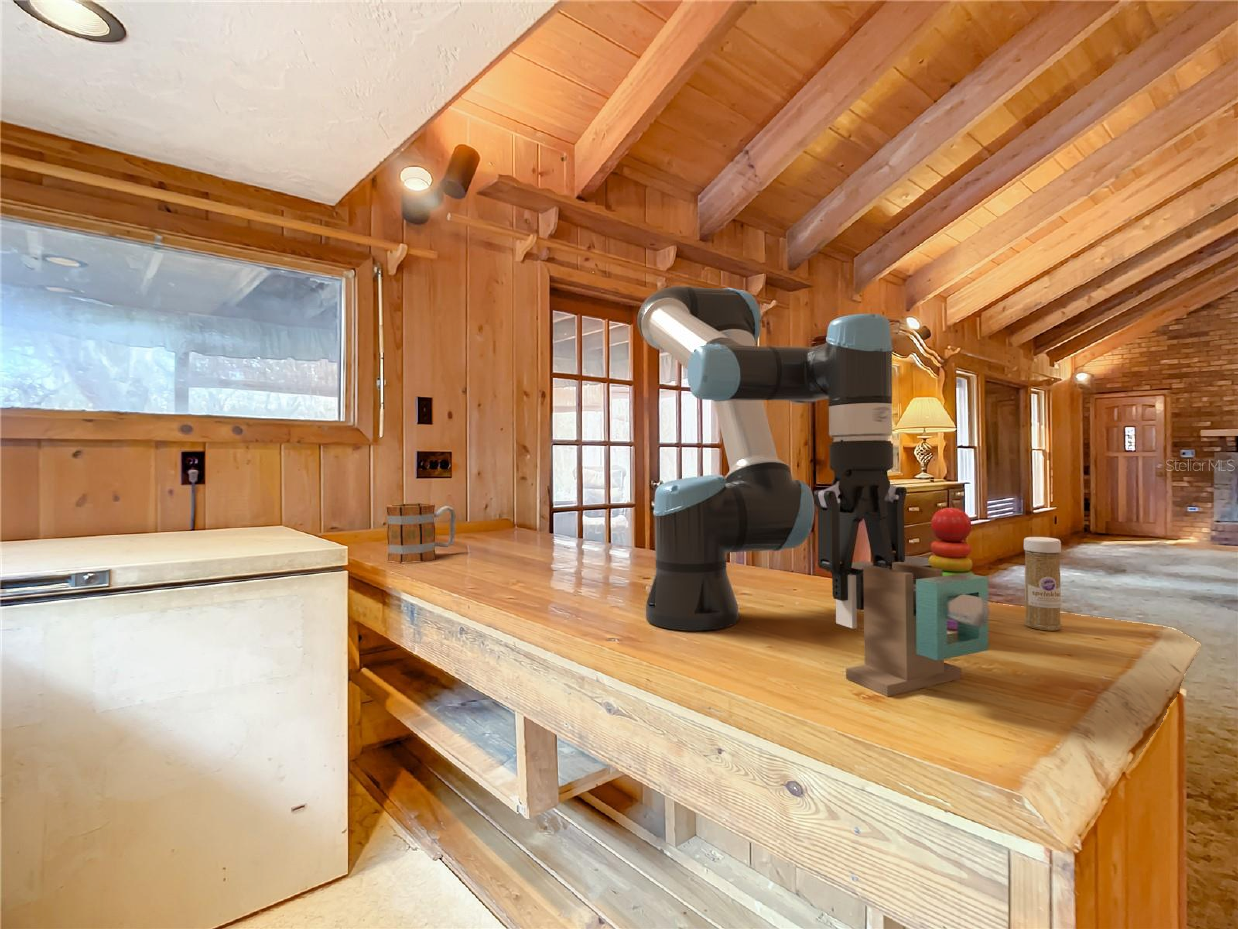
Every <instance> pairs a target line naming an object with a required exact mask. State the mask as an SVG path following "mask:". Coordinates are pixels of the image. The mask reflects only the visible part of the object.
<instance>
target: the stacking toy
mask: <svg viewBox="0 0 1238 929" xmlns="http://www.w3.org/2000/svg"><path fill="white" fill-rule="evenodd" d="M931 518H932V519H931V522H930V526H931V528H930V529H931V530H932V533H933V534H934V536H935V537H936V538H938V539H936V540H933V541H932V542H931V544H930V551H931V552H932V553H933V554H932V555H931V556H929V564H930V566H931V567H932V568H936V569H942V572H943V576H948V575H957V574H965V573H968V574H973V575H975V574H974V572H973V571H971V570H972V569H973V561H972V559H970V558H969V557H968V556H969V555H970V554H971V553H972V548H971V545H970V544H969V543H968V542H966V541H964V540H965V539H967V538H968V537H969V536H970V533H971V531H972V521H971V518H970V516H969V515H968V514H967V513H966V512H965V511H964V510H961V509H960V508H956V507H945V508H941V509H939V510H938V511H936V512H935V513H934V514H933V516H932V517H931ZM957 632H958V622H957V621H953V620H949V619H947V634H952V633H957Z"/></svg>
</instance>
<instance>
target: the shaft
mask: <svg viewBox="0 0 1238 929" xmlns="http://www.w3.org/2000/svg"><path fill="white" fill-rule="evenodd" d="M869 565H871V566H876V567H882V568H887V569H890V566H888V565H883V564H878V563H873V562H871V561H866V560H864V561H863V560H862V561H855V562H853V561H852V567H851V572H850V574H853V575H856V603H857V611H864V584H863V566H869ZM913 610H915V611H916V584H914V583H913ZM989 615H990V606H989V602H988V603H987V601H986V600H985V599H983V598H980V597H975V596H970V595H966V594H962V595H956V596H949V597H947V619H949V620H953V621H957V622H961V623H965V624H968V625H972V626H976V627H981V626H983V625H984V624H985V623H986V621H987V619H988V620H989Z"/></svg>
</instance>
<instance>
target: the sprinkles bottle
mask: <svg viewBox="0 0 1238 929" xmlns="http://www.w3.org/2000/svg"><path fill="white" fill-rule="evenodd" d="M1023 550H1024V554H1025V555H1024V557H1025V559H1024V560H1025V564H1024V565H1025V566H1024V568H1025V569H1024V604H1025V621H1024V624H1025V626H1027V627H1028V628H1031V629H1034V630H1035V629H1036V630H1040V631H1051V632H1052V631H1059V630H1062V624H1061V606H1062V603H1061V600H1062V598H1061V597H1062V594H1061V591H1062V590H1061V587H1062V586H1061V569H1060V567H1061V566H1060V564H1061V563H1060V559H1061V558H1060V555H1061V552H1062V541H1061V540H1060V539H1059V538H1054V537H1047V536H1028V537H1024V539H1023Z"/></svg>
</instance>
